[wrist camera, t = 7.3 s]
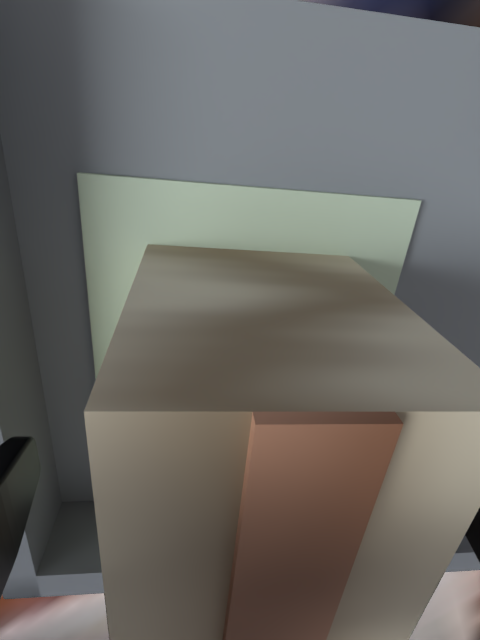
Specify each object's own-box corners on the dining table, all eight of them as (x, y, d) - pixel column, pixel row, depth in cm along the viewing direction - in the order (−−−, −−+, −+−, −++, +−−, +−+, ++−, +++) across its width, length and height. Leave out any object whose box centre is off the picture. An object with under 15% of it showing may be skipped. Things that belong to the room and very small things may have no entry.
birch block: (348, 255, 10) (544, 423, 4) (303, 458, 13) (385, 705, 7) (147, 244, 9) (79, 425, 4) (151, 460, 12) (116, 734, 7)
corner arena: (474, 493, 16) (529, 566, 13) (40, 507, 14) (3, 599, 11) (693, 67, 9) (889, 45, 7) (-72, -45, 7) (-231, -145, 4)
